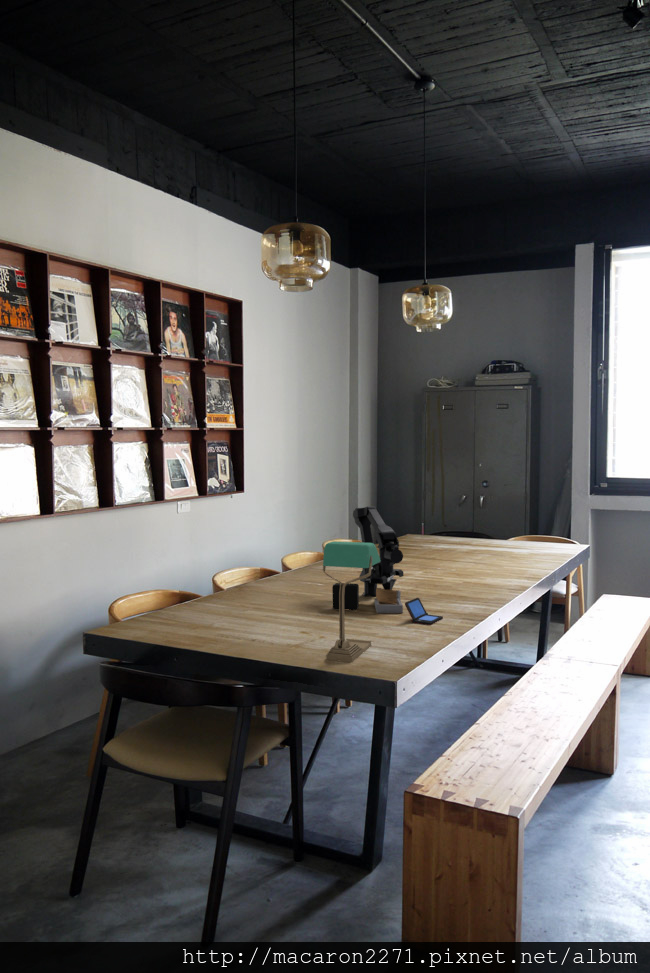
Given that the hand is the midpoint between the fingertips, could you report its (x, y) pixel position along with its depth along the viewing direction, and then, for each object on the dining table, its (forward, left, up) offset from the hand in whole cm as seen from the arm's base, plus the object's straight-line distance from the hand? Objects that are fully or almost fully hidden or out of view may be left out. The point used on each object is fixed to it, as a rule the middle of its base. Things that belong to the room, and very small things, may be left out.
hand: (387, 596), depth 317 cm
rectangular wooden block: (+3, 0, -2) cm, 4 cm away
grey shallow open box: (+13, -1, -2) cm, 14 cm away
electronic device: (+12, -18, -2) cm, 22 cm away
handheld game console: (+33, +11, -3) cm, 35 cm away
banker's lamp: (+75, -19, -2) cm, 78 cm away
